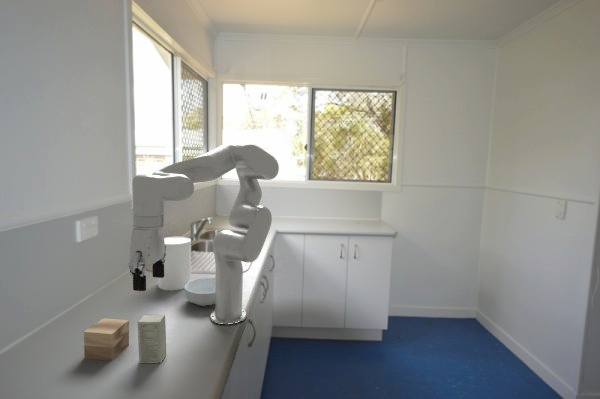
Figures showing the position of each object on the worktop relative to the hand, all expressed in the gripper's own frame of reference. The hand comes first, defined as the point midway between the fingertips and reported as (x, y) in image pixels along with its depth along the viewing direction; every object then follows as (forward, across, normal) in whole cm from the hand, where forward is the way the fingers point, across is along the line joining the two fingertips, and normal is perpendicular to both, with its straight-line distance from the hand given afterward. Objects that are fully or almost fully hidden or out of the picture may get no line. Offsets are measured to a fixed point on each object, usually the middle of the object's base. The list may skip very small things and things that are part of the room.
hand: (149, 283), depth 91 cm
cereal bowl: (+22, -39, +2) cm, 45 cm away
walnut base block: (+22, -2, -14) cm, 27 cm away
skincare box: (+22, 0, 0) cm, 22 cm away
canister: (+22, -54, -18) cm, 61 cm away
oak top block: (+18, -2, -14) cm, 23 cm away
